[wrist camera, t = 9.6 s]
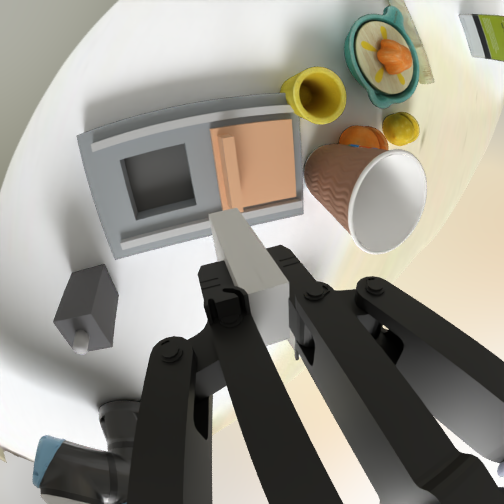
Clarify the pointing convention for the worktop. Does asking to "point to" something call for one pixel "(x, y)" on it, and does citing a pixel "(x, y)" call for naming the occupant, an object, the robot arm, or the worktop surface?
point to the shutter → (254, 162)
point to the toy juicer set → (368, 78)
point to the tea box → (484, 35)
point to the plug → (88, 310)
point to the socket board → (174, 172)
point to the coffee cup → (369, 192)
